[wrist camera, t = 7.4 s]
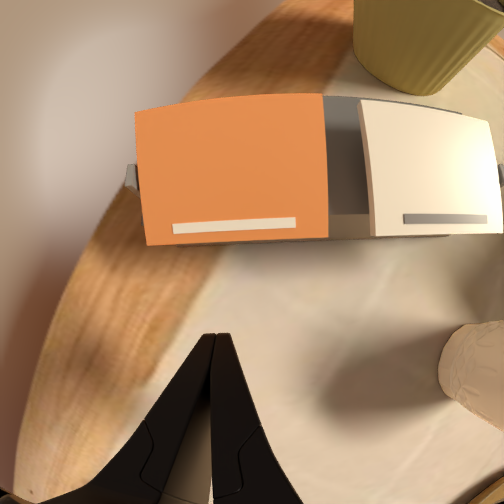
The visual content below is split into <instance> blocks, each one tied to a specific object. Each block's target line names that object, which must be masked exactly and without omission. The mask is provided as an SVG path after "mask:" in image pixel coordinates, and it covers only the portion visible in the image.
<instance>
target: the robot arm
mask: <svg viewBox="0 0 504 504" xmlns="http://www.w3.org/2000/svg"><path fill="white" fill-rule="evenodd" d="M144 419H145V420H143V421H142V422H141V424H140V425H139V426H138V428H137V429H136V431H135V432H134V433H133V435H132V436H131V437H130V439H129V440H128V441H127V442H126V444H125V445H124V446H123V447H122V448H121V449H120V451H119V452H118V453H117V454H116V455H115V456H114V457H113V458H112V459H111V460H110V461H109V463H108V464H107V465H106V466H105V467H104V468H103V469H102V470H101V471H100V472H99V473H98V474H97V475H96V476H95V477H94V478H93V479H92V480H91V481H90V482H89V483H87V484H86V485H84V486H82V487H81V488H78V489H76V490H73V491H71V492H68V493H66V494H63V495H61V496H58V497H55V498H52V499H50V500H47V501H44V502H41V503H38V504H208V502H209V494H210V486H211V478H212V487H213V499H214V500H213V504H304V503H303V502H302V500H301V499H300V497H299V496H298V494H297V493H296V491H295V489H294V488H293V486H292V485H291V483H290V481H289V480H288V478H287V476H286V475H285V473H284V471H283V470H282V468H281V466H280V465H279V463H278V461H277V459H276V457H275V455H274V453H273V451H272V449H271V447H270V444H269V442H268V440H267V437H266V435H265V432H264V429H263V427H262V425H261V422H260V419H259V416H258V413H257V411H256V408H255V405H254V402H253V400H252V397H251V394H250V391H249V388H248V385H247V382H246V379H245V377H244V374H243V371H242V368H241V365H240V362H239V359H238V356H237V353H236V350H235V347H234V344H233V341H232V337H231V335H230V333H218V334H215V333H207V334H203V335H202V336H201V338H200V339H199V340H198V342H197V343H196V345H195V346H194V348H193V349H192V351H191V352H190V353H189V355H188V356H187V358H186V359H185V361H184V362H183V364H182V365H181V366H180V368H179V369H178V371H177V372H176V374H175V375H174V377H173V378H172V379H171V381H170V382H169V384H168V385H167V387H166V388H165V389H164V391H163V392H162V394H161V395H160V397H159V398H158V400H157V401H156V402H155V404H154V405H153V407H152V408H151V410H150V411H149V412H148V414H147V415H146V417H145V418H144ZM0 504H34V503H31V502H29V501H26V500H24V499H22V498H20V497H18V496H16V495H14V494H12V493H11V492H9V491H7V490H5V489H3V488H1V487H0ZM492 504H504V498H502V499H500V500H498V501H496V502H494V503H492Z"/></svg>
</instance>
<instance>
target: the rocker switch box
mask: <svg viewBox="0 0 504 504" xmlns="http://www.w3.org/2000/svg"><path fill="white" fill-rule="evenodd" d="M322 97H323V108H324V121H325V135H326V153H327V177H328V237H325V238H299V239H275V240H252V241H230V242H209V243H189V244H174V245H175V246H177V247H185V246H206V245H227V244H250V243H273V242H297V241H322V240H348V239H377V238H407V237H440V236H449V235H451V234H432V235H396V236H370V215H369V200H368V187H367V176H366V167H365V158H364V150H363V142H362V135H361V128H360V122H359V115H358V109H357V105H358V103H359V102H360V100H372V101H382V102H391V103H399V104H406V105H413V106H419V107H425V108H431V109H436V110H442V111H447V112H451V113H456V114H460V115H462V113H458V112H454V111H450V110H445V109H440V108H435V107H429V106H424V105H418V104H411V103H404V102H397V101H389V100H380V99H370V98H358V97H342V96H322ZM497 169H498V176H499V183H500V188H501V187H502V186H504V166H503V165H502V164H499V165H498V166H497ZM125 187H126V188H128V189H129V190H130V191H131V192H133V193H134V194H135V195H136V196H138V197H139V198H140V199H141V196H140V187H139V176H138V167H137V166H136V165H135V164H131V165H128V166H127V173H126V180H125ZM141 225H142V226H143V227H144V221H143V213H142V223H141Z"/></svg>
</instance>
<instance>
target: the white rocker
mask: <svg viewBox="0 0 504 504" xmlns="http://www.w3.org/2000/svg"><path fill="white" fill-rule="evenodd" d="M357 109H358V115H359V122H360V128H361V135H362V142H363V150H364V158H365V167H366V176H367V187H368V200H369V215H370V236H396V235H432V234H476V233H503V216H502V202H501V192H500V183H499V176H498V169H497V163H496V157H495V151H494V146H493V141H492V137H491V132H490V128H489V124H488V121H484V120H480V119H476V118H473V117H469V116H464V115H460V114H456V113H451V112H447V111H442V110H436V109H431V108H425V107H419V106H413V105H406V104H399V103H391V102H382V101H372V100H360V102H359V103H358V105H357Z"/></svg>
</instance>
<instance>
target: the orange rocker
mask: <svg viewBox="0 0 504 504" xmlns="http://www.w3.org/2000/svg"><path fill="white" fill-rule="evenodd" d="M135 132H136V133H135V134H136V151H137V165H138V176H139V187H140V196H141V205H142V213H143V221H144V229H145V236H146V242H147V246H151V245H170V244H189V243H209V242H230V241H252V240H275V239H299V238H325V237H328V177H327V153H326V135H325V121H324V108H323V97H322V94H317V93H289V94H262V95H246V96H234V97H224V98H215V99H207V100H199V101H192V102H186V103H180V104H174V105H169V106H163V107H157V108H152V109H148V110H143V111H139V112H135Z"/></svg>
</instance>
